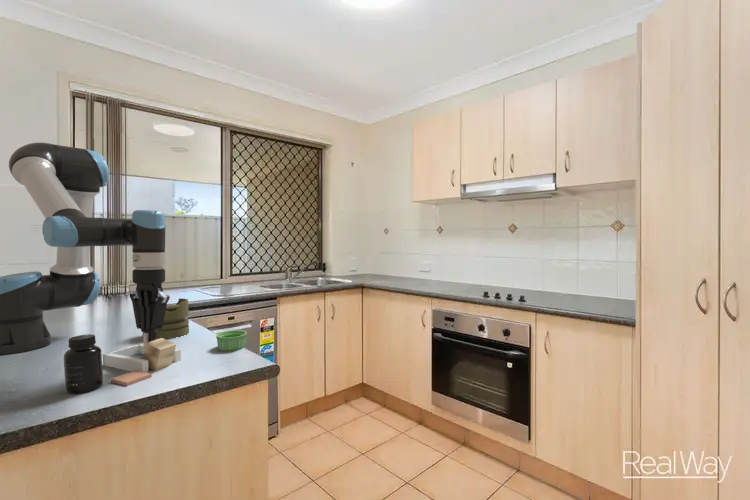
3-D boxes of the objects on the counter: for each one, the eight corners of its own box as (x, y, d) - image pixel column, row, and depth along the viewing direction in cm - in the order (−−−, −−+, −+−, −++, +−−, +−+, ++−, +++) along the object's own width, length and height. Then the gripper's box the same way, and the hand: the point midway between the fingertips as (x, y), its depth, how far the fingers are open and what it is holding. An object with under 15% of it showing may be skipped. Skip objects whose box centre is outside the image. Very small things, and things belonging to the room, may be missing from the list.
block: (141, 363, 98) (145, 342, 97) (157, 357, 102) (162, 337, 102) (155, 371, 96) (160, 349, 95) (171, 364, 101) (176, 344, 100)
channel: (103, 365, 100) (102, 354, 100) (142, 353, 110) (142, 343, 110) (142, 373, 94) (142, 362, 94) (180, 360, 104) (180, 349, 104)
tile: (110, 382, 89) (110, 378, 89) (135, 373, 94) (135, 370, 94) (127, 385, 86) (127, 382, 86) (151, 376, 92) (151, 373, 92)
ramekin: (245, 342, 122) (245, 328, 122) (248, 349, 114) (248, 335, 114) (215, 345, 118) (215, 332, 118) (217, 353, 110) (216, 339, 110)
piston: (151, 300, 133) (187, 297, 138) (152, 333, 133) (188, 329, 139) (151, 305, 123) (189, 302, 129) (152, 341, 123) (190, 336, 129)
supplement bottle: (79, 383, 88) (77, 333, 88) (109, 382, 89) (107, 332, 88) (57, 395, 81) (54, 341, 81) (90, 394, 82) (88, 340, 81)
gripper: (119, 268, 98) (120, 356, 99) (151, 270, 93) (152, 363, 94) (146, 266, 105) (147, 348, 106) (178, 268, 100) (178, 354, 101)
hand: (149, 355), depth 100 cm, fingers closed
